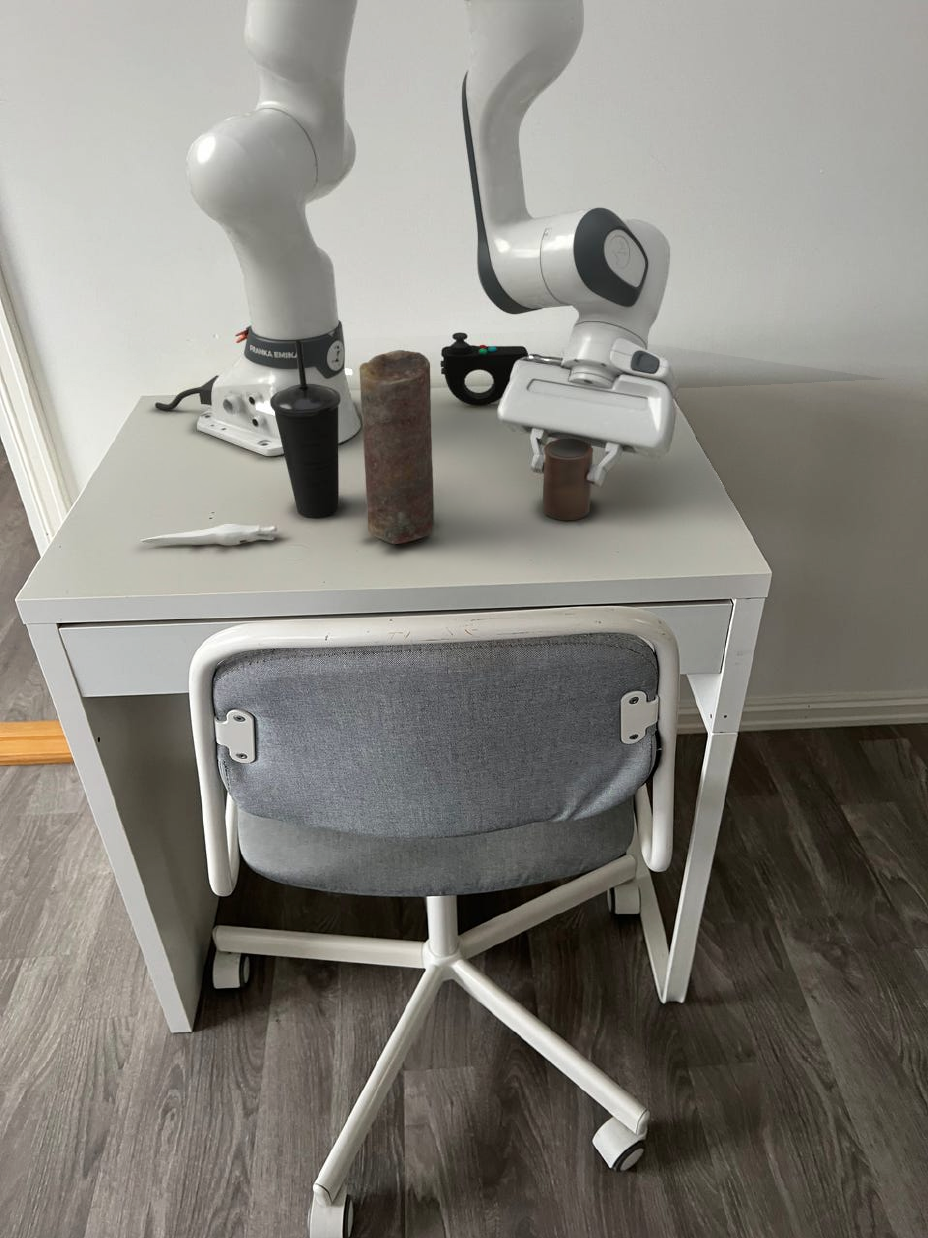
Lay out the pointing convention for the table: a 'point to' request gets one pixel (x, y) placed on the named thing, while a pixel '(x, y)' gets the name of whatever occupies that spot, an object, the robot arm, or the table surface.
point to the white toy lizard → (216, 535)
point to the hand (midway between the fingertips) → (565, 477)
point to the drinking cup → (310, 442)
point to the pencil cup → (567, 479)
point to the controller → (478, 368)
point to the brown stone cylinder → (398, 445)
